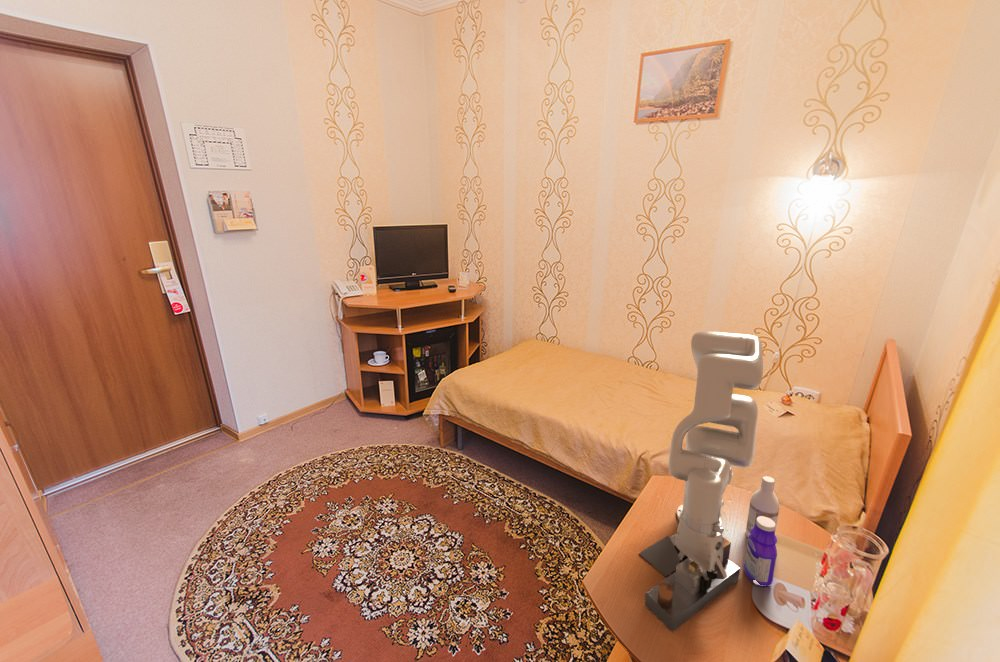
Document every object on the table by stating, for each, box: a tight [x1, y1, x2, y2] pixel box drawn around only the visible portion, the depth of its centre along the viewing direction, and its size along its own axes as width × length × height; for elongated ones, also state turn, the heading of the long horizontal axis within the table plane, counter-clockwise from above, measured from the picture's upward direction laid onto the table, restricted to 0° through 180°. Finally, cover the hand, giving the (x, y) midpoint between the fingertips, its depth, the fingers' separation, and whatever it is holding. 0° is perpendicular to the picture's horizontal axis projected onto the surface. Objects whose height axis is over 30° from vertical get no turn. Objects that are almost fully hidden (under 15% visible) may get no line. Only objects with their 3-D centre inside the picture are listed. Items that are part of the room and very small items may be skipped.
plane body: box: [644, 537, 741, 633], centre depth 102 cm, size 26×8×10 cm, turn 120°
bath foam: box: [745, 475, 780, 538], centre depth 117 cm, size 7×7×20 cm
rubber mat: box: [638, 535, 680, 578], centre depth 114 cm, size 12×9×1 cm
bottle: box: [743, 516, 778, 587], centre depth 104 cm, size 7×6×17 cm
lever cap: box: [675, 557, 715, 595], centre depth 102 cm, size 8×5×5 cm, turn 120°
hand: (694, 579), depth 102 cm, fingers closed on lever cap, 5 cm apart
